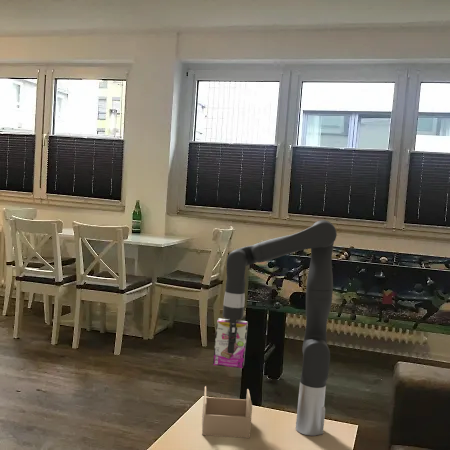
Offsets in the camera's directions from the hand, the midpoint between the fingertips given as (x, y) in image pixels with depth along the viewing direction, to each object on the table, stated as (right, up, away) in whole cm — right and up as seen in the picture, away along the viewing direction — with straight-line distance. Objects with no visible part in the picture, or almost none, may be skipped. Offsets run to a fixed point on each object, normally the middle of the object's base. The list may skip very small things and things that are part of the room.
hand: (230, 350), depth 205 cm
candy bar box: (0, -6, 0) cm, 6 cm away
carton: (-2, -26, -5) cm, 26 cm away
